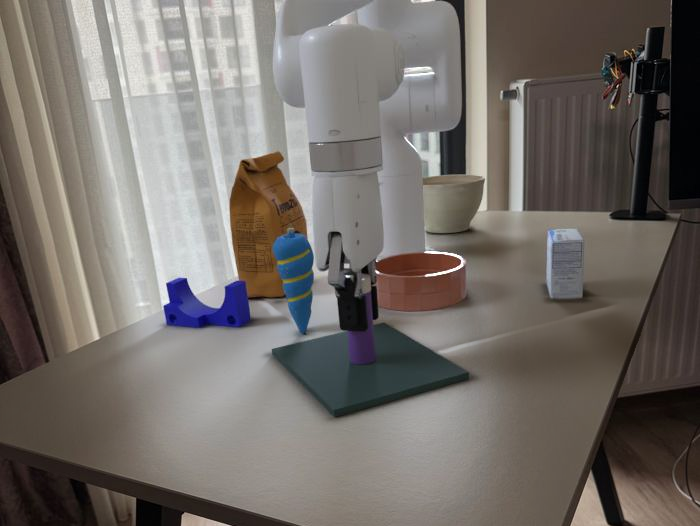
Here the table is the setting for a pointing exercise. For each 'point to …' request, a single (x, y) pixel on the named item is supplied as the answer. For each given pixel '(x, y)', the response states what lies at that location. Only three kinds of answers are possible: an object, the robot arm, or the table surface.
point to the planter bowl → (451, 201)
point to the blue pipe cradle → (197, 314)
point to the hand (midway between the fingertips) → (359, 323)
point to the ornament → (296, 274)
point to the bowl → (420, 281)
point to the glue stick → (363, 341)
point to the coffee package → (262, 222)
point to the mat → (366, 370)
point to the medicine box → (565, 263)
